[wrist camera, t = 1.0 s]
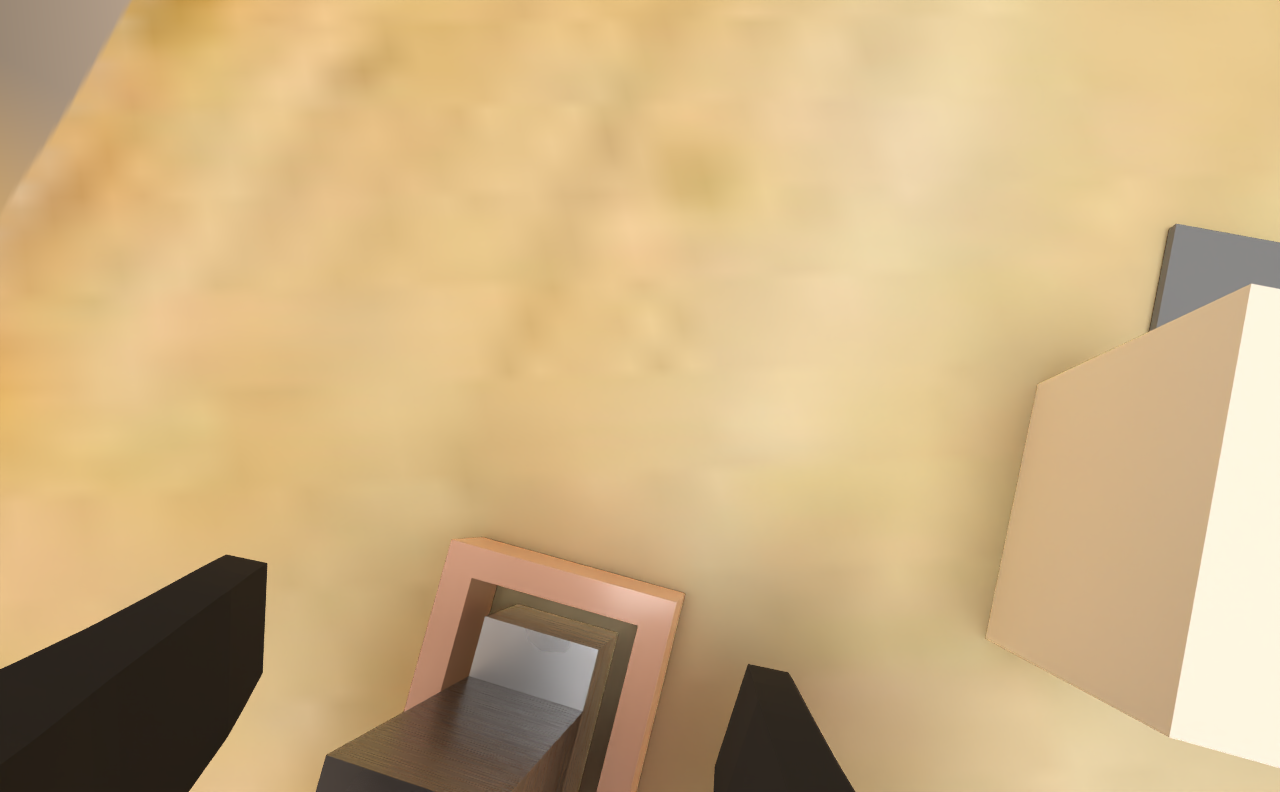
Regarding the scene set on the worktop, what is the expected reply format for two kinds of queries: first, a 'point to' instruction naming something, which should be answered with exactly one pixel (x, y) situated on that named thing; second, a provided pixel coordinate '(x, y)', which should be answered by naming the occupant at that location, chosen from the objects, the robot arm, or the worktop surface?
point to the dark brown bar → (493, 717)
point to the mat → (1210, 269)
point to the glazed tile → (1158, 529)
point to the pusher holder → (495, 563)
